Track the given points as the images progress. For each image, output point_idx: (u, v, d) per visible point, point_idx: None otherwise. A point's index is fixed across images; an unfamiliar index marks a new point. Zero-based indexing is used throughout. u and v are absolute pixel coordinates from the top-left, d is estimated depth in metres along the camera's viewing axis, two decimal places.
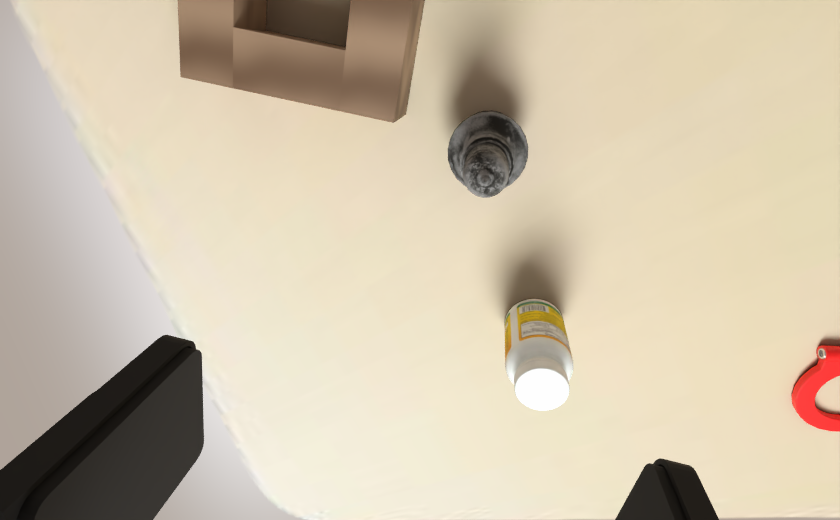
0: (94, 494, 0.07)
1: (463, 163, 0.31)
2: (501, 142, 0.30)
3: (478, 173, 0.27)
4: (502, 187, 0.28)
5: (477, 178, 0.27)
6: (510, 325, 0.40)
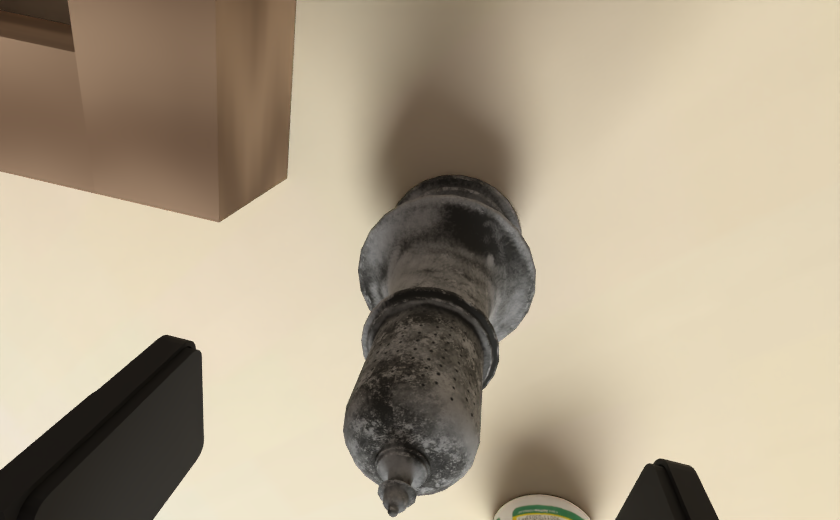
0: (94, 494, 0.07)
1: (369, 347, 0.12)
2: (465, 304, 0.11)
3: (380, 456, 0.09)
4: None
5: (377, 468, 0.09)
6: None
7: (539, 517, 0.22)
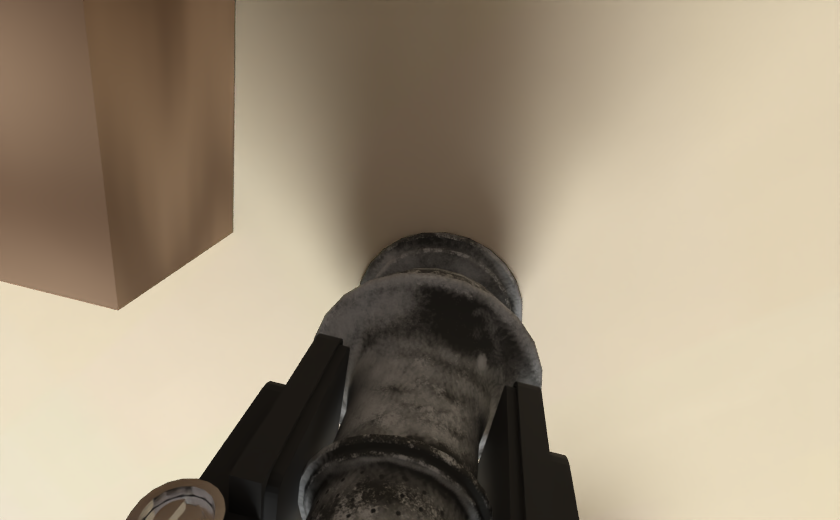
0: (298, 472, 0.08)
1: (307, 510, 0.08)
2: (442, 463, 0.07)
3: None
4: None
5: None
6: None
7: None
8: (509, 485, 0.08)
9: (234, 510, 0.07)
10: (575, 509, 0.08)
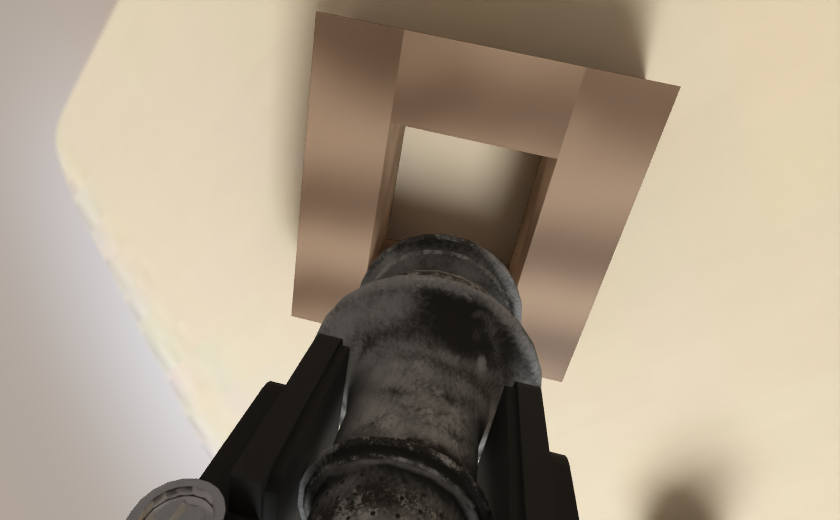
0: (299, 472, 0.08)
1: (307, 512, 0.08)
2: (442, 465, 0.07)
3: None
4: None
5: None
6: None
7: None
8: (509, 485, 0.08)
9: (234, 510, 0.07)
10: (575, 509, 0.08)
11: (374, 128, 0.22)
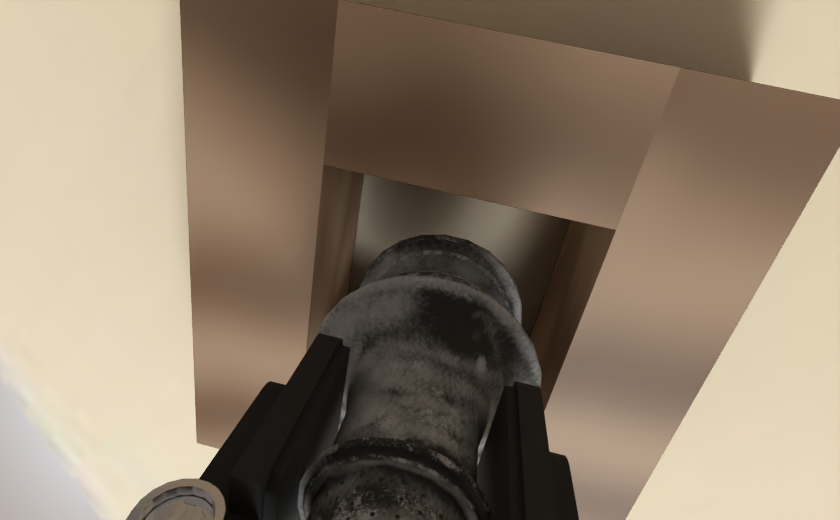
0: (298, 472, 0.08)
1: (306, 513, 0.08)
2: (442, 466, 0.07)
3: None
4: None
5: None
6: None
7: None
8: (509, 485, 0.08)
9: (234, 510, 0.07)
10: (575, 509, 0.08)
11: (297, 174, 0.13)
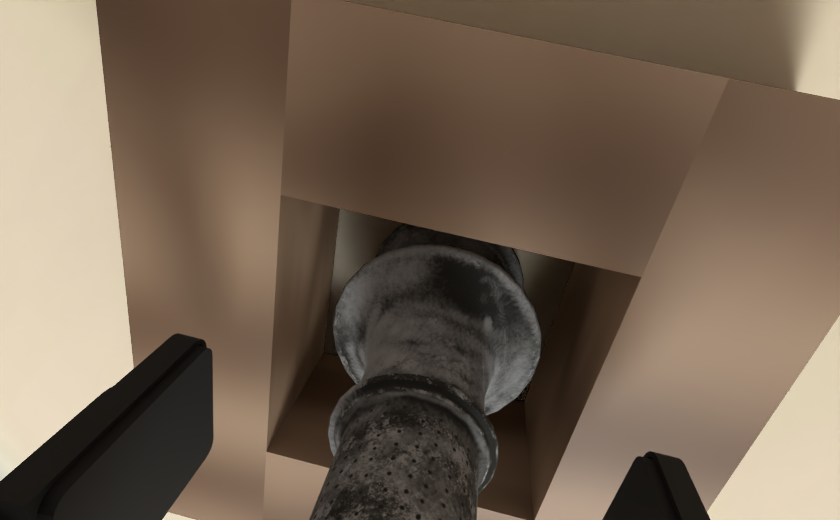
0: (110, 489, 0.07)
1: (337, 442, 0.10)
2: (456, 397, 0.09)
3: None
4: None
5: None
6: None
7: None
8: None
9: None
10: None
11: (249, 206, 0.10)
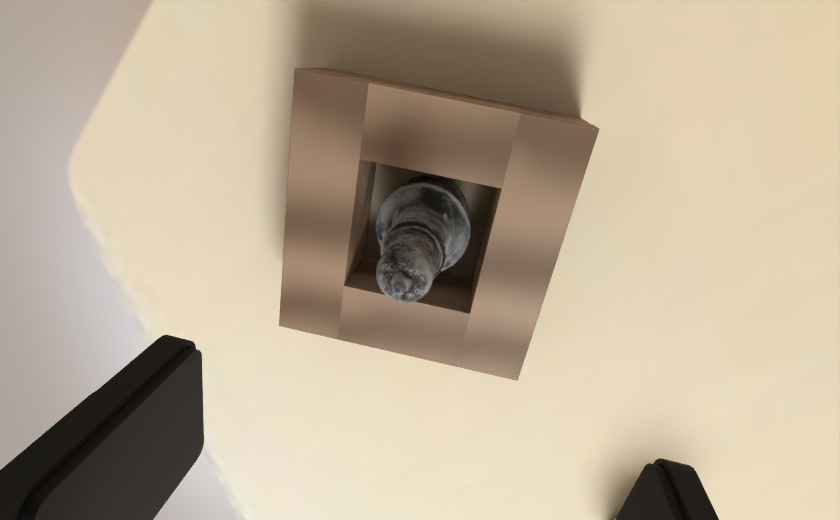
0: (94, 494, 0.07)
1: (384, 252, 0.25)
2: (429, 228, 0.24)
3: (392, 277, 0.21)
4: (424, 292, 0.22)
5: (391, 283, 0.21)
6: None
7: None
8: None
9: None
10: None
11: (346, 164, 0.26)
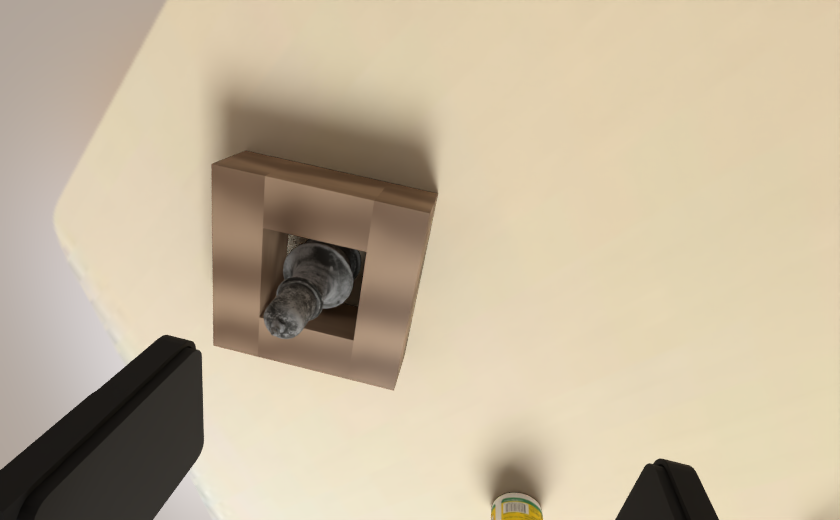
0: (94, 494, 0.07)
1: None
2: (309, 283, 0.33)
3: (272, 322, 0.30)
4: (296, 332, 0.31)
5: (271, 326, 0.30)
6: None
7: (513, 503, 0.47)
8: None
9: None
10: None
11: (253, 231, 0.35)
